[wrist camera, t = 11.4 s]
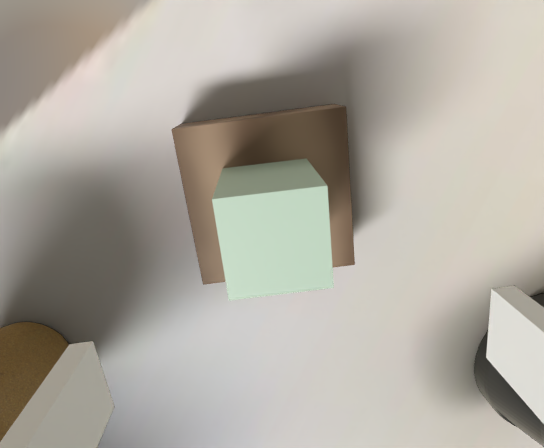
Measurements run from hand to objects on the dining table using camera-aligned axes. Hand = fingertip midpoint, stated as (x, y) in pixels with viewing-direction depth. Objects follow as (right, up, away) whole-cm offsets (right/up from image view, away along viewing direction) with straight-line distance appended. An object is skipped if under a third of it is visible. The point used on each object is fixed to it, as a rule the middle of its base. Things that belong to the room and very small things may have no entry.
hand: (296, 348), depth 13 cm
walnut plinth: (-1, +7, +19) cm, 21 cm away
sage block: (-1, +6, +16) cm, 17 cm away
